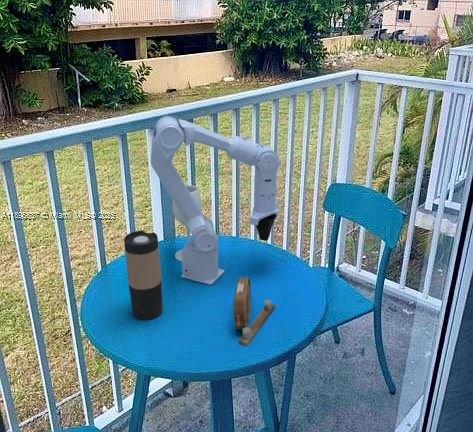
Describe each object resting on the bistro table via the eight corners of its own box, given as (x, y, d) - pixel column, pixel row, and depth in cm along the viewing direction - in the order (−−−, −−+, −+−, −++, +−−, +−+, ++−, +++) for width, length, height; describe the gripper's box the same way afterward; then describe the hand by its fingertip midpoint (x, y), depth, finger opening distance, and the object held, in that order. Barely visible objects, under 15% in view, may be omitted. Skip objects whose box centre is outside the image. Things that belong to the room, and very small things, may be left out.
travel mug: (136, 324, 110) (128, 247, 103) (127, 307, 117) (119, 234, 109) (168, 315, 114) (162, 240, 106) (157, 299, 120) (151, 227, 112)
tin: (246, 337, 106) (246, 305, 103) (232, 336, 106) (232, 304, 103) (251, 299, 120) (252, 270, 116) (239, 299, 120) (239, 270, 117)
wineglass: (172, 262, 138) (168, 194, 129) (177, 248, 146) (173, 183, 137) (202, 262, 137) (199, 194, 129) (205, 249, 145) (203, 183, 137)
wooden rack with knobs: (238, 343, 104) (238, 333, 103) (267, 305, 117) (267, 296, 116) (246, 345, 103) (247, 336, 102) (274, 307, 116) (275, 298, 115)
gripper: (268, 204, 117) (267, 253, 122) (289, 186, 129) (287, 231, 134) (242, 199, 120) (242, 248, 125) (265, 182, 132) (264, 227, 137)
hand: (264, 239), depth 130 cm, fingers closed
